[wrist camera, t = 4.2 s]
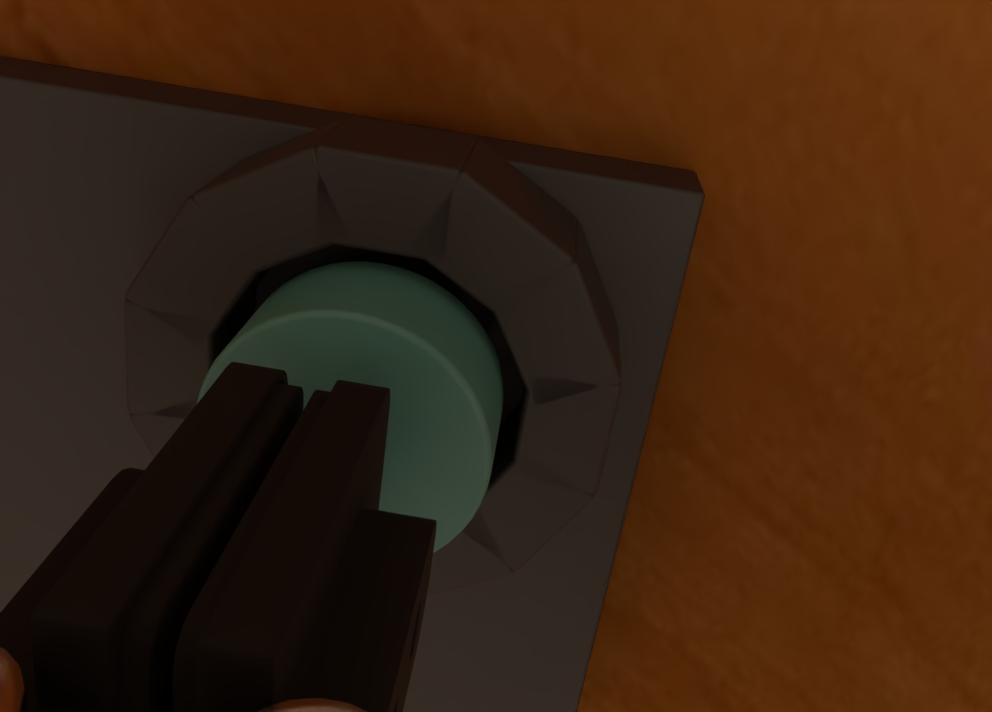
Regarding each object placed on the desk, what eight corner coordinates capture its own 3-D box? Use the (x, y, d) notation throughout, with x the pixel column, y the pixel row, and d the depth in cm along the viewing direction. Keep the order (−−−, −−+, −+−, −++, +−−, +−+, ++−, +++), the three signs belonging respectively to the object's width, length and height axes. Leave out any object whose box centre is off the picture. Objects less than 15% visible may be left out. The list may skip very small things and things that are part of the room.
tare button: (523, 285, 12) (514, 341, 10) (484, 516, 13) (470, 596, 12) (245, 237, 12) (192, 286, 10) (238, 473, 13) (191, 546, 12)
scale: (701, 154, 13) (729, 214, 11) (547, 788, 19) (541, 930, 17) (-241, -2, 14) (-444, 17, 11) (-115, 669, 20) (-228, 790, 17)
